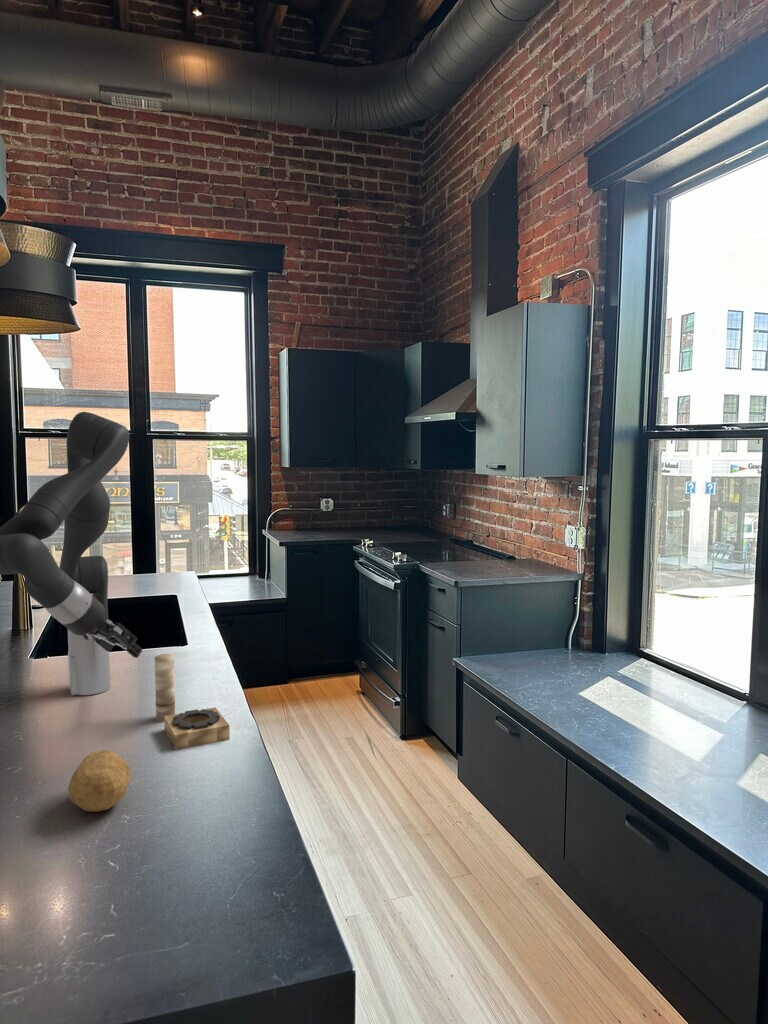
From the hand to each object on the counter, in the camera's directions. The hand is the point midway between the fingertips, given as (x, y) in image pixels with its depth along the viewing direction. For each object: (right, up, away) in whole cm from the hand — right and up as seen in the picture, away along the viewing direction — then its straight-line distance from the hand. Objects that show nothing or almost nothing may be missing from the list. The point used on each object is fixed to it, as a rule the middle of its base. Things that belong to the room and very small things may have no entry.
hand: (125, 650), depth 145 cm
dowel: (+5, -17, +10) cm, 20 cm away
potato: (+6, -21, -27) cm, 34 cm away
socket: (+15, -18, +2) cm, 23 cm away
